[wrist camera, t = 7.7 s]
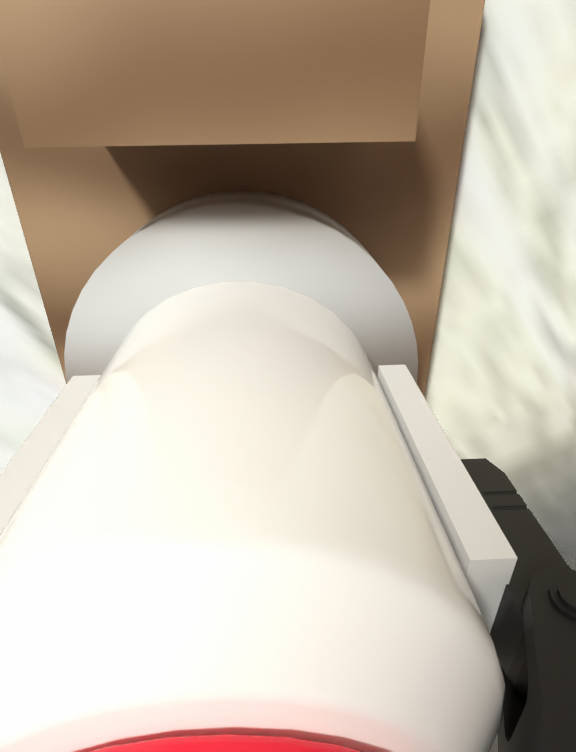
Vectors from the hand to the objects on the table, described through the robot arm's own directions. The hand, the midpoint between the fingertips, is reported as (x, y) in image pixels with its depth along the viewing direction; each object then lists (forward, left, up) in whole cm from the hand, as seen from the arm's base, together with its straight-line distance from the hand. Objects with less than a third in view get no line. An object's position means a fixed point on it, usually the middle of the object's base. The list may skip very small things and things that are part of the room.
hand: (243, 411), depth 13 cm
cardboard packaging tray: (0, 0, -6) cm, 6 cm away
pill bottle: (0, 0, 0) cm, 0 cm away
